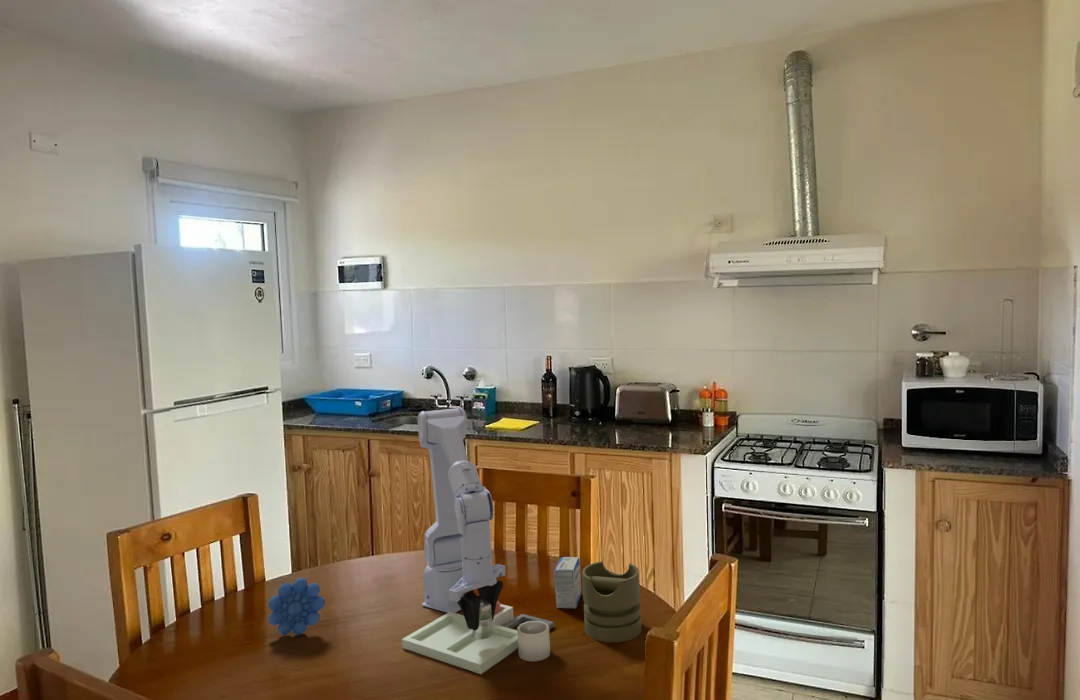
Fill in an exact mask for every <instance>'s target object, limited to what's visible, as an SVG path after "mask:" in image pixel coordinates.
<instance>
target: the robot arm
mask: <svg viewBox="0 0 1080 700" xmlns="http://www.w3.org/2000/svg"><path fill="white" fill-rule="evenodd" d="M417 416H418V417H417V430H418V442H419V445H420V447H421V448H423V449H427V451H428V453H429V459H430V469H431V470H430V471H431V480H432V493H433V503H434V514H435V522H434V523H433V524H432V525H431V526H430V527H429V528H428V529H427V530H426V531H425V532H424V544H423V545H424V547H423V551H424V558H425V562H426V567H425V568H424V571H423V574H422V576H423V577H422V582H423V585H422V586H423V599H424V601H423V602H422V603H421V606H423V607H426V608H430V609H433V610H437V611H441V612H444V613H446V614H447V613H449V612H453V613H456V614H457V613H458V612H460V611H461V612H462V615H463V616H464V618H465V620H466V624H467V627H468V628H469V629H472V630H477V629H478V627H479V608H480V603H481V600H487V601H490V603H491V611H492V620H493V619H494V614H495V608H496V604H497V601H499V600H498V599H499V597H500V594H501V592H502V590H503V589H504V581H502V580H499V579H498V578H499V577H505V576H506V575H507V574H506V565H503V564H499V563H497V564H496V563H495V564H494V565H493V555H492V536H491V522H490V521H492V520H493V519H494V509H495V508H494V502H493V498H492V495H491V492H490V491H489V490H488V489H487V487H486V486H483V484H482V481H481V479H480V476H479V472H478V470H477V467H476V465H475V464H474V463H473V462H471V461H468V456H467V452H466V448H465V444H464V439H465V438H466V437H467V436H466V434H467V432H468V429H469V428H468V418H467V413H466V410H465V409H464V408H463V407H461V406H460V407H456V408H446V409H439V410H438V409H437V410H428V411H427V410H426V411H425V410H422V411H420V413H418V415H417ZM475 590H477V592H478V595H477V594H476V592H475Z"/></svg>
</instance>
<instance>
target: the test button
mask: <svg viewBox="0 0 1080 700" xmlns="http://www.w3.org/2000/svg"><path fill="white" fill-rule="evenodd" d="M500 604H501V601H499V600H497V604H496V608H495V614H497V613H498V612H500ZM495 614H494V615H495Z"/></svg>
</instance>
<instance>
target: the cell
mask: <svg viewBox="0 0 1080 700" xmlns="http://www.w3.org/2000/svg"><path fill="white" fill-rule="evenodd" d="M492 635H493V628H492V611H491V603H490V601H487V600H481V603H480V608H479V627H478V629H477V630H472V637H473V638H475V639H479V640H481V639H487V638H489V637H491V636H492Z"/></svg>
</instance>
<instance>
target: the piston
mask: <svg viewBox="0 0 1080 700" xmlns="http://www.w3.org/2000/svg"><path fill="white" fill-rule="evenodd" d="M581 573H582V574H581V578H582V579H581V580H582V594H583V595H582V598H583V602H584V603H583V614H584V615H583V619H584V632H586V633H585V634H586V635H587V637H589V638H590V639H592V638H593V640H595V641H598V642H602V641H604V642H603V643H610V642H616V643H622V642H623V641H624V642H628V641H630V640H633V639H636V638H637V637H638V636H639V635H640V634H641V632H642V615H641V612H642V611H641V603H640V600H641V593H640V591H641V590H640V589H641V587H640V569H639V568H638V567H637V566H636V565H635V564H633V563H629V564H628V570H627V571H626V572H623V573H620V574H618V573H613V572H611V571H609V570H608V568H606V567H605V565H604V561H602V560H601V561H597V562H593V563H590V564H588V565H586V566H585V567H584V568H583V569H582V571H581Z"/></svg>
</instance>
